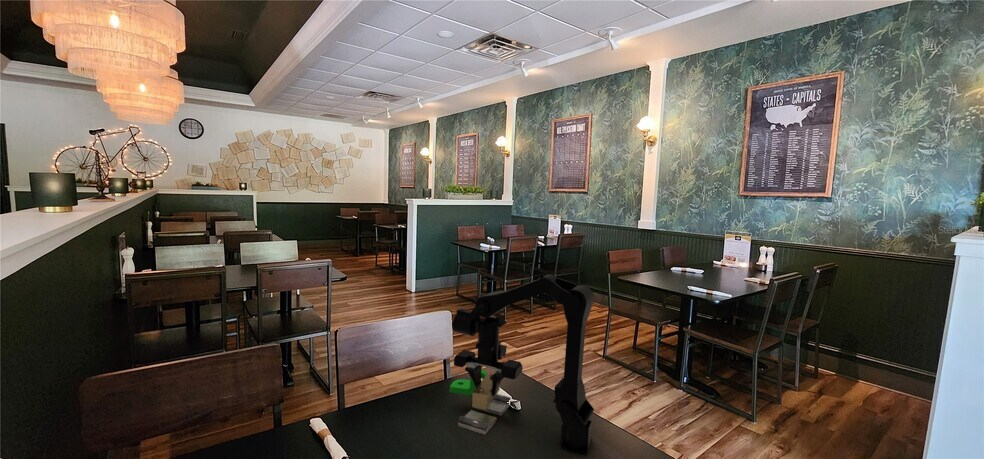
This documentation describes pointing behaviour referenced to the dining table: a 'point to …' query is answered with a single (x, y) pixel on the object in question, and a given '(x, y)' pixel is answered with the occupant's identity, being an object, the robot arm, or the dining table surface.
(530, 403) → the dining table surface
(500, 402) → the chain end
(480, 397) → the bar
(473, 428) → the chain end
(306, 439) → the dining table surface
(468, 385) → the mechanical part
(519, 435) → the dining table surface
